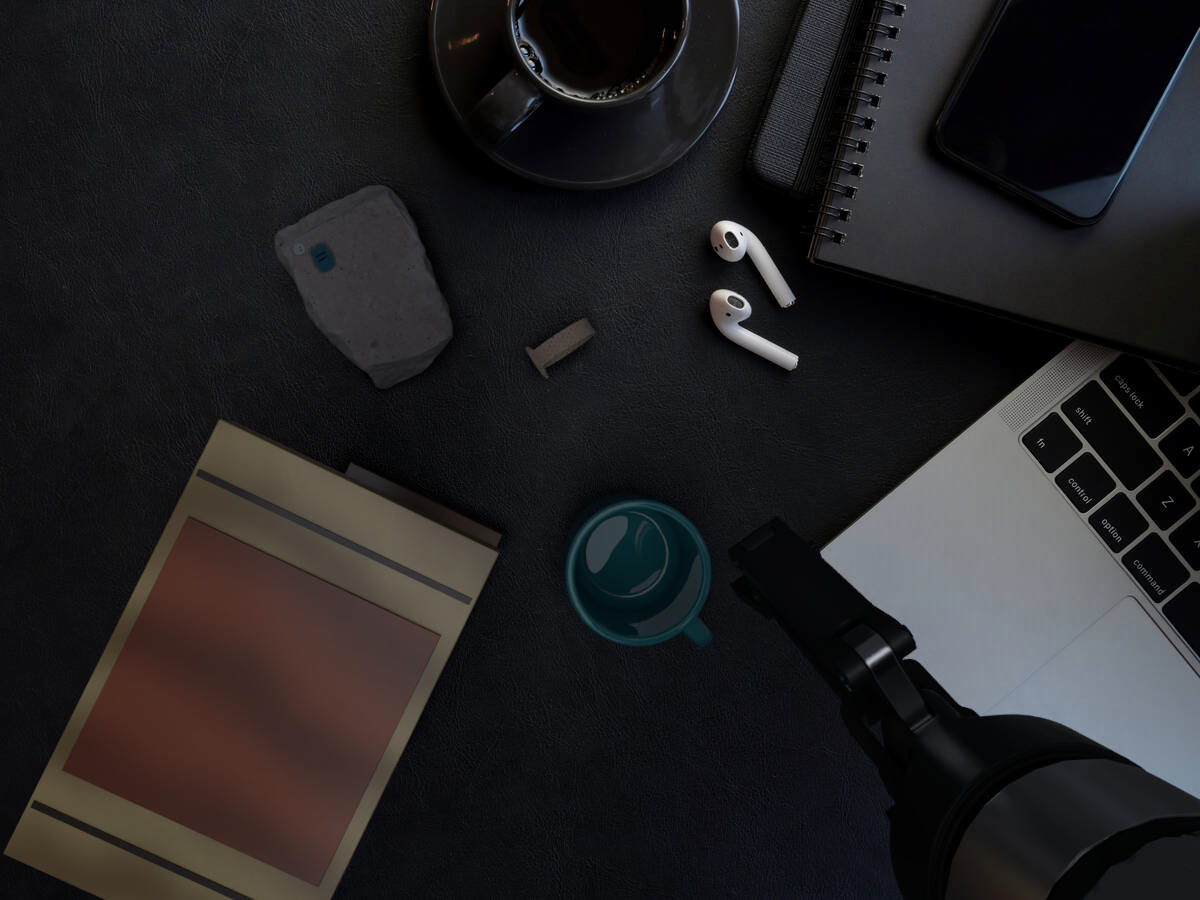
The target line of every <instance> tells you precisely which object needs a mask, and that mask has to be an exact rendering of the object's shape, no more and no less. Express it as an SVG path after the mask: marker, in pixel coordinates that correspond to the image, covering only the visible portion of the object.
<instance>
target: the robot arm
mask: <svg viewBox="0 0 1200 900" xmlns="http://www.w3.org/2000/svg"><path fill="white" fill-rule="evenodd" d="M727 555H728V557H729V561H730V562H731V564H732V566H733V567H734V568H735V569H737V570H739V571H741V572H742V573H743V574H742V575H741V576H739V577H738V578H736V579H735V580H733V581H732V582H731V583H729V587H730V588H731V589H732V590H733V592H734V594H735V595H736V596H737V598H739V599H740V601H742V602H744V603H745V604H746V605H747V606H749V607H750V608H752V609H753V610H754V611H755V612H757V613H758V614H759V615H760V616H762V618H764V619H766V620H767V621H768V622H769V621H771V620H772V619H774V621H775V622H776V623H777V624H778V625H779V626H780V628H781V629H782V630H783V631H784V633H785V634H786V635H787V636H788V637H789V639H790V641H792V642H793V644H794V645H795V646H796V648H797V649H798V650H799V651H800V653H801V654H802V655H803V656H804V657H805V659H806V660H807V661H808V662H809V663H810V665H811V666H812V667H813V668H814V670H815V671H816V672H817V673H818V674H819V676H820V677H821V678H822V680H823V681H824V682H825V683H826V684H827V686H828V687H829V688H830V689H831V690H832V692H833V693H834V694H835V695H836V697H837V698H838V699H839V701H841V704H840V706H839V715H840V717H841V719H842V721H843V723H844V725H845V727H846V729H847V732H848V733H849V734H850V736H851V737H852V738H853V739H854V741H855V742H856V744H857V745H858V746H859V747H860V748H861V750H862V751H863V752H864V753H865V755H866V756H867V757H868V759H869V760H870V761H871V762H872V763H873V765H874V766H875V768H876V769H877V770H878V776H879V778H880V780H881V783H882V784H883V786H884V788H885V791H886V792H887V794H888V795H889V797H890V798H891V799H892V800H893V802H894V804H893V805H891V807H889V808H887V809H886V810H884V811H883V813H884V815H885V816H886V818H887V819H888V820H889V822H890V828H889V854H890V861H891V866H892V871H893V875H894V878H895V881H896V884H897V887H898V889H899V892H900V894H901V896H902V898H903V900H1200V798H1198V797H1197V796H1194V795H1193V794H1191V793H1189V792H1187V791H1185V790H1184V789H1182V788H1180V787H1178V786H1176V785H1175V784H1172V783H1170V782H1168V781H1167V780H1165V779H1163V778H1161V777H1159V776H1157V775H1155V774H1154V773H1152V772H1149V771H1147V770H1146V769H1145V768H1144V767H1142V766H1141V765H1139V764H1137V763H1136V762H1134V761H1133V760H1131V759H1130V758H1128V757H1126V756H1124V755H1122V754H1120V753H1118V752H1116V751H1115V750H1112V749H1111V748H1110V747H1107V746H1105V745H1104V744H1101V743H1100V742H1098V741H1095V740H1094V739H1092V738H1090V737H1089V736H1087V735H1084V734H1083V733H1081V732H1079V731H1077V730H1075V729H1073V728H1071V727H1070V726H1067V725H1065V724H1064V723H1063V724H1062V723H1060V722H1058V721H1055V720H1052V719H1048V718H1046V717H1041V716H1037V715H1030V714H1022V713H1021V714H1020V713H1007V714H1006V713H1005V714H990V715H989V714H987V715H980V714H979V713H978V712H977V711H975V710H974V709H972V708H971V707H968V706H967V707H966V706H963V705H961V704H960V703H958V702H957V701H956V700H955V699H954V697H952V695H951V694H950V693H949V692H948V691H947V689H946V688H944V687H943V685H941V684H940V682H939V681H938V680H937V679H936V678H935V677H934V676H933V675H932V674H931V673H930V672H929V671H928V670H927V668H925V666H923V664H922V663H921V662H919V661H918V660H917V659H914V658H906V657H907V656H909V655H911V654H912V653H913V652H915V651H916V650H917V649H918V647H917V642H916V640H915V638H914V635H913V633H912V631H911V630H910V629H909V627H907V626H906V624H902V623H901V622H900V620H898V619H896V618H895V617H894V616H892V615H890V614H889V613H887V612H886V611H884V610H882V609H881V608H880V607H877V606H876V605H875V604H873V603H872V602H871V601H870V600H869V599H868V598H867V597H866V596H864V594H862V592H861V591H859V590H858V589H857V588H856V587H855V586H854V585H853V584H851V583H850V582H849V581H848V580H847V579H846V578H845V577H844V576H843V575H842V574H841V573H840V572H839V571H838V570H836V569H835V568H834V566H832V565H831V564H830V563H829V562H828V561H827V560H826V559H824V558H823V555H822V553H821V550H820V547H818V544H817V543H816V542H815V541H814V540H813V539H811V540H810V541H808V542H806V541H805V540H804V539H803V538H802V537H801V536H799V534H798V533H797V532H795V530H793V529H792V528H791V527H790V525H789V524H788V523H787V522H786V521H785V520H782V519H781V518H780V517H779V516H777V515H776V516H774V517H772V518H771V519H769V520H768V521H766V523H764V524H762V525H761V526H760V527H758V528H757V529H755V530H754V531H752V532H750V533H749V534H748V535H746V536H745V537H744V538H742V539H741V540H739V541H738V542H737V543H735V544H733V545H732V546H731V547H729V548H727ZM878 722H880V728H881V733H882V739H883V744H882V743H881V742H880V741H879V739H878V738H877V737H876V736H875V735H874V733H873V732H872V731H871V728H872V727H873V726H874V725H875V724H877V723H878ZM883 745H884V746H883Z"/></svg>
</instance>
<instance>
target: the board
mask: <svg viewBox="0 0 1200 900" xmlns="http://www.w3.org/2000/svg"><path fill="white" fill-rule="evenodd" d="M501 552H502V549H501V548H500V547H498V546H497V547H496V546H494V545H492V544H489V543H487V542H485V541H483V540H481V539H479V538H477V537H475V536H473V535H471V534H469V533H466V532H464V531H462V530H460V529H458V528H456V527H454V526H452V525H450V524H448V523H446V522H443V521H441V520H439V519H437V518H435V517H433V516H431V515H429V514H427V513H425V512H423V511H421V510H418V509H416V508H414V507H412V506H410V505H408V504H406V503H404V502H402V501H400V500H398V499H395V498H393V497H391V496H389V495H387V494H385V493H383V492H381V491H379V490H377V489H375V488H372V487H370V486H368V485H366V484H364V483H362V482H360V481H358V480H356V479H354V478H352V477H349V476H347V475H345V473H343V472H342V471H339V470H337V469H334V468H333V467H330V466H329V465H326V464H324V463H322V462H321V461H318V460H316V459H314V458H312V457H310V456H308V455H306V454H304V453H301V452H300V451H298V450H295V449H293V448H291V447H288V446H287V445H286V444H285V445H284V444H283V443H280V442H279V441H277V440H274V439H272V438H270V437H269V436H266V435H264V434H262V433H259V432H258V431H255V430H254V429H251V428H249V427H247V426H245V425H243V424H241V423H238V422H236V421H235V420H232V419H225V418H224V419H222V418H219V419H218V421H217V423H216V425H215V427H214V429H213V431H212V433H211V435H210V437H209V439H208V441H207V443H206V445H205V447H204V449H203V450H202V453H201V455H200V457H199V459H198V461H197V463H196V465H195V467H194V469H193V471H192V473H191V474H190V477H189V479H188V481H187V483H186V485H185V487H184V489H183V491H182V493H181V496H180V497H179V499H178V501H177V503H176V505H175V507H174V509H173V511H172V513H171V515H170V517H169V519H168V521H167V523H166V525H165V527H164V529H163V531H162V534H161V535H160V537H159V539H158V542H157V544H156V545H155V548H154V550H153V551H152V554H151V555H150V557H149V560H148V561H147V563H146V565H145V567H144V570H143V572H142V574H141V576H140V577H139V580H138V582H137V584H136V585H135V588H134V590H133V591H132V594H131V596H130V598H129V600H128V602H127V603H126V605H125V608H124V610H123V612H122V614H121V616H120V618H119V620H118V622H117V623H116V626H115V628H114V630H113V632H112V634H111V635H110V638H109V640H108V642H107V644H106V646H105V648H104V650H103V652H102V654H101V656H100V658H99V659H98V662H97V664H96V666H95V667H94V670H93V671H92V674H91V676H90V678H89V680H88V682H87V684H86V686H85V688H84V690H83V692H82V694H81V696H80V698H79V700H78V703H77V704H76V705H75V708H74V710H73V712H72V714H71V716H70V718H69V720H68V722H67V724H66V726H65V728H64V730H63V732H62V734H61V737H60V739H58V743H57V744H56V746H55V748H54V751H53V752H52V754H51V756H50V759H49V761H48V762H47V764H46V767H45V768H44V770H43V772H42V775H41V777H40V779H39V781H38V782H37V784H36V787H35V788H34V791H33V793H32V794H31V797H30V798H29V801H28V803H27V805H26V806H25V809H24V810H23V813H22V815H21V817H20V819H19V821H18V823H17V825H16V827H15V828H14V831H13V833H12V835H11V837H10V838H9V840H8V842H7V846H6V847H5V848H4V851H3V855H5V856H8V857H9V858H12V859H14V860H16V861H18V862H21V863H23V864H24V865H27V866H29V867H31V868H34V869H35V870H38V871H40V872H42V873H45V874H47V875H49V876H52V877H53V878H56V879H58V880H60V881H63V882H65V883H67V884H69V885H71V886H74V887H76V888H78V889H80V890H82V891H84V892H86V893H89V894H91V895H93V896H96V897H98V898H100V899H103V900H332V899H333V897H334V895H335V893H336V892H337V889H338V887H339V885H340V883H341V882H342V881H341V880H342V878H343V876H344V874H345V872H346V870H347V868H348V866H349V864H350V862H351V860H352V858H353V856H354V854H355V852H356V850H357V848H358V846H359V843H361V839H362V837H363V835H364V834H365V831H366V829H367V826H368V825H369V823H370V821H371V819H372V817H373V815H374V813H375V812H376V809H377V806H378V805H379V803H380V800H381V798H382V797H383V794H384V792H385V790H386V788H387V786H388V784H389V782H390V780H391V778H392V776H393V774H394V772H395V769H396V768H397V765H398V763H399V762H400V760H401V757H402V755H403V753H404V751H405V749H406V747H407V745H408V743H409V741H410V739H411V737H412V735H413V734H414V733H413V732H414V731H415V728H416V727H417V725H418V723H419V720H420V718H421V716H422V714H423V713H424V710H425V708H426V706H427V704H428V702H429V701H430V697H431V696H432V694H433V693H434V690H435V687H436V685H437V683H438V681H439V679H440V677H441V676H442V673H443V672H444V669H445V667H446V665H447V663H448V661H449V659H450V656H451V654H452V653H453V650H454V649H455V646H456V644H457V642H458V641H459V638H460V636H461V634H462V632H463V630H464V628H465V626H466V623H467V622H468V620H469V618H470V615H471V614H472V611H473V609H474V607H475V605H476V603H477V601H478V599H479V597H480V595H481V593H482V591H483V589H484V587H485V585H486V583H487V581H488V579H489V577H490V574H491V572H492V570H493V568H494V567H495V564H496V562H497V560H498V558H499V555H500V553H501Z"/></svg>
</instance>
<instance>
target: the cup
mask: <svg viewBox="0 0 1200 900" xmlns="http://www.w3.org/2000/svg"><path fill="white" fill-rule="evenodd" d="M562 552H563V553H562V558H563V560H562V563H563V571H564V580H565V581H564V582H565V588H566V591H567V596H568V599H569V601H570V603H571V605H572V607H573V609H574V611H575V613H576V614H577V616H578V617H579V618H580V620H581V621H582V622H583V623H584V624H585V625H586V626H587V628H589V629H590V630H591V631H593V632H594V633H595V634H597V635H599V636H600V637H601V638H603V639H605V640H607V641H610V642H613V643H616V644H619V645H623V646H629V647H647V646H653V645H657V644H661V643H664V642H665V641H668V640H670V639H672V638H675V637H676V636H678V635H679V634H681V633H683V634H684V635H685V636H686V637H687V638H688V639H689V640H690V641H691V642H692V643H693V644H694V645H696V646H697V647H699V648H705V647H707V646H709V645H710V644H711V643H712V642H713V640H714V637H715V635H714V634H715V633H714V631H713V630H712V629H711V628H710V626H708V624H706V623H705V622H704V620H703V619H701V617H700V616H699V614H700V613H701V611H702V609H703V608H704V606H705V603H706V601H707V598H708V595H709V592H710V589H711V582H712V562H711V557H710V553H709V548H708V546H707V544H706V541H705V539H704V537H703V536H702V534H701V532H700V531H699V530H698V528H697V527H696V525H695V524H694V523H693V522H692V521H691V520H690V519H689V518H688V517H687V516H686V515H684V514H683V513H682V512H680V511H679V510H677V509H676V508H674V507H672V506H671V505H668V504H666V503H663V502H661V501H659V500H657V499H655V498H652V497H650V496H647V495H645V494H640V493H636V492H616V493H611V494H607V495H604V496H602V497H598V498H597V499H595V500H593V501H592V502H590V503H589V504H587V505H586V506H585V507H584V508H582V510H580V511H579V512H578V514H577V515H576V517H574V519H573V521H572V522H571V524H570V526H569V527H568V530H567V532H566V536H565V539H564V543H563V549H562Z"/></svg>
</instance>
